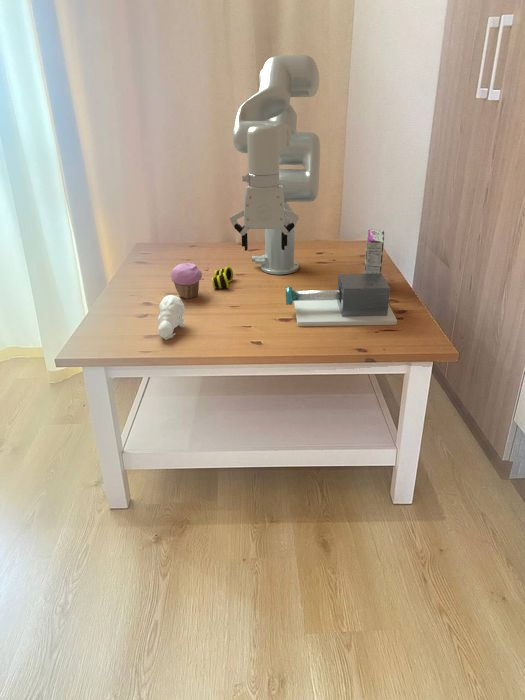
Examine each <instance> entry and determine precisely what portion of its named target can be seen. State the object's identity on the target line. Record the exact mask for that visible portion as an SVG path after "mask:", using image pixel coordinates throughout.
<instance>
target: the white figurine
mask: <svg viewBox="0 0 525 700" xmlns="http://www.w3.org/2000/svg"><path fill="white" fill-rule="evenodd" d="M158 307H159V310H160V312H159V315H158V317H157V324H158V328H157V334H158V335H159V337H161V338H162V339H164V340H165V341H167V340H169V339H170V338H171V339H172V338H174V337H175V335H176V333H173V332H174V329H175V328H177V327H178V326H179V327H180V328H184V327H185V324H184V318H183V317H184V313H185V304H184V303H183V301H182V299H181V298H180V297H179V296H177V295H174V294H169V295H166V296H164V297H163V298H162V300H161V301H160V303H159V306H158Z"/></svg>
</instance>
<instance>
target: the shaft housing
mask: <svg viewBox="0 0 525 700" xmlns="http://www.w3.org/2000/svg"><path fill="white" fill-rule="evenodd" d="M337 275H338V276H337V290H341V291H342V294H341V300H337V303H338V306H339V309H340V312H341V315H342V317H356V316H387V313H388V304H389V305H390V303H389V302H390V295H391V287H390V285H389V284H388V282H387V280H386V278H385V275H384V274H383V273H382V272H381V273H375V274H364V273H338V274H337Z"/></svg>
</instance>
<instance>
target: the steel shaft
mask: <svg viewBox="0 0 525 700" xmlns="http://www.w3.org/2000/svg"><path fill="white" fill-rule="evenodd" d="M341 294H342V291H341V290H338V289H317V290H315V289H311V290H309V289H308V290H305V289H304V290H303V289H302V290H293V286H286V287H285V305H286V306H290V305H291V306H293V304H294V301H323V300H341Z"/></svg>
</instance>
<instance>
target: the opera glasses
mask: <svg viewBox="0 0 525 700" xmlns="http://www.w3.org/2000/svg"><path fill="white" fill-rule="evenodd" d="M233 278H234V272H233V269H232V267H231V266H226V267H225V268H221V269H216V270H215V271H214V277H211V283H212V287H213V289H214V290H215V289H223V288H226V289H230V285H229V283H231V282H232V281H233Z"/></svg>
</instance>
